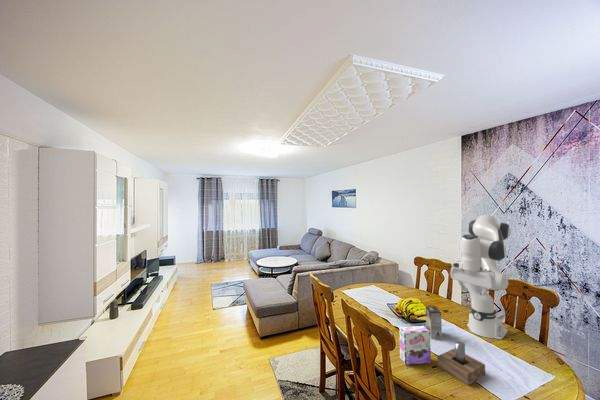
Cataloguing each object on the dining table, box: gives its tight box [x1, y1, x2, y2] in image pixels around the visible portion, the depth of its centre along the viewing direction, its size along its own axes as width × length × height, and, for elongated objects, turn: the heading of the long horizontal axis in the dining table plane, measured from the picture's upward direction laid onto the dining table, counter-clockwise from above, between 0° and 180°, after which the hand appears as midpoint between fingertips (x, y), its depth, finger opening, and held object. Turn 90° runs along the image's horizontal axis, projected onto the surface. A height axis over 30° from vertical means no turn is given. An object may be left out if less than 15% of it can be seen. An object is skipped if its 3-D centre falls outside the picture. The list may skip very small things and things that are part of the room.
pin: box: [454, 340, 466, 365], centre depth 113 cm, size 4×4×12 cm
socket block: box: [436, 347, 486, 386], centre depth 113 cm, size 14×14×5 cm
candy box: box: [398, 325, 432, 366], centre depth 121 cm, size 14×6×16 cm, turn 94°
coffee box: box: [425, 305, 443, 340], centre depth 144 cm, size 9×6×16 cm
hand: (472, 292), depth 123 cm, fingers open, 8 cm apart
